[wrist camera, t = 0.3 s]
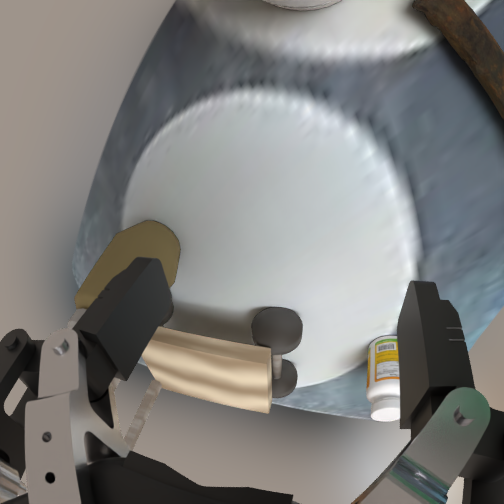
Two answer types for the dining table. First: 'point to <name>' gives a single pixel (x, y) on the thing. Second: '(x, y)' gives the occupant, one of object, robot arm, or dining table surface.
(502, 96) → the hand tool
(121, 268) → the squeeze bottle
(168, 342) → the trolley
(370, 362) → the supplement bottle
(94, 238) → the dining table surface
